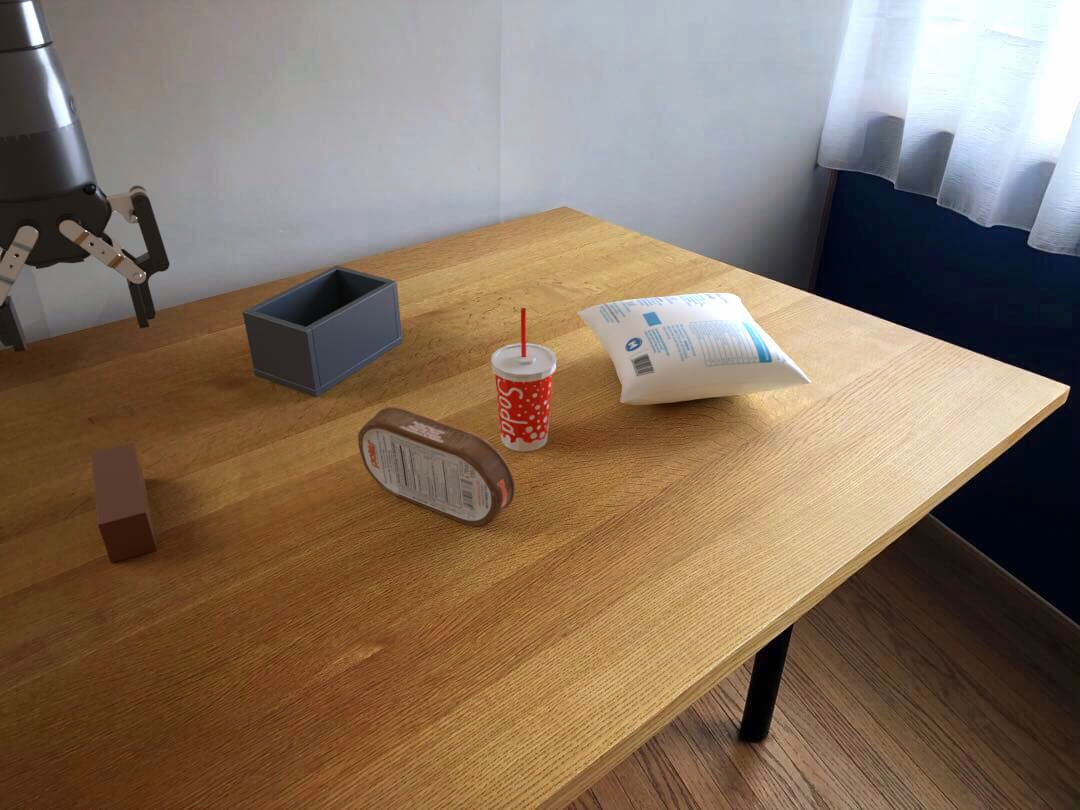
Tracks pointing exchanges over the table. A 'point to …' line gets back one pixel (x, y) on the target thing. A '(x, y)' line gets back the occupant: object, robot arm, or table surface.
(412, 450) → the tin
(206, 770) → the table surface
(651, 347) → the pouch
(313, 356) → the bin
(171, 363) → the table surface
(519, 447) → the beverage cup
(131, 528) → the brown block
